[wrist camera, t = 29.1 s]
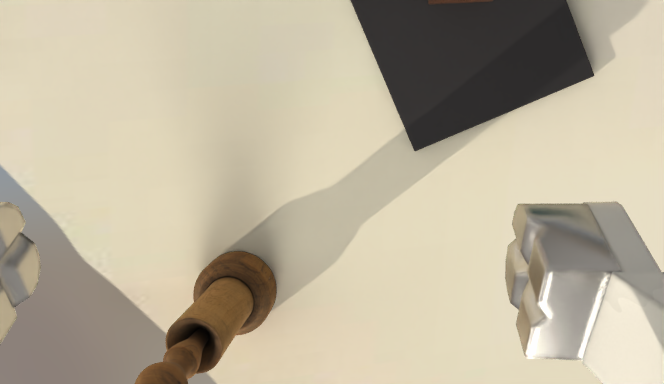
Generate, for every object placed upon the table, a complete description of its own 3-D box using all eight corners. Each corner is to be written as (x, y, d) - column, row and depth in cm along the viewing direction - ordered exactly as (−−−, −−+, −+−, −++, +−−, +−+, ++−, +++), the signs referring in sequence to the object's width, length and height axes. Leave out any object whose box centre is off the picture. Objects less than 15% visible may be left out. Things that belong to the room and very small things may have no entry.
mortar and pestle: (215, 239, 50) (113, 328, 32) (287, 267, 50) (224, 374, 32) (192, 307, 51) (82, 429, 34) (261, 336, 51) (187, 473, 33)
